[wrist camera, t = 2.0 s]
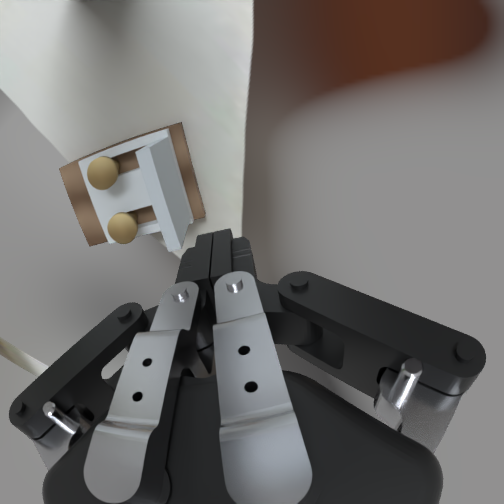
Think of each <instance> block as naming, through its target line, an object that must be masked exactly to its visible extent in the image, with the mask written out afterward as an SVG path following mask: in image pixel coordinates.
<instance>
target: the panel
mask: <svg viewBox="0 0 504 504" xmlns="http://www.w3.org/2000/svg"><path fill="white" fill-rule="evenodd" d="M146 145H147V146H146ZM143 146H145V147H143ZM140 147H143V148H141V149H140V150H138V151H136V152H135V153H136V156H137V160H138V163H139V166H140V167H139V168H136V169H133V170H130V171H127V172H124V173H121V174H118V178H117V181H116V182H115V183H114V184H113V185H112V186H111V187H110V188H108V189H106V190H98V189H96V188H94V187H93V186H92V185H91V184H90V183H89V181H88V178H87V169H88V166H89V164H90V163H91V162H92V161H93V160H94V159H96V158H98V157H101V156H107V157H110V158H112V157H114V156H117V155H120V154H122V153H125V152H128V151H131V150H134V149H137V148H140ZM78 163H79V166H80V169H81V172H82V175H83V178H84V181H85V184H86V187H87V190H88V193H89V195H90V198H91V201H92V203H93V206H94V209H95V211H96V214H97V216H98V219H99V221H100V224H101V226H102V228H103V231H104V233H105V236H106V238H107V240H108V242H109V244H112V243H116V241H114V240H113V239H112V238H111V237H110V235H109V233H108V229H107V226H108V222H109V220H110V219H111V218H112V217H113V216H114V215H115V214H116V213H119V212H125V213H126V212H129V211H133V210H136V209H140V208H143V207H147V206H150V205H152V207H153V210H154V213H155V216H156V218H157V220H153V221H150V222H146V223H142V224H138V232H137V235H136V236H135V237H139V236H143V235H147V234H151V233H155V232H159V231H161V232H162V235H163V238H164V241H165V243H166V246H167V249H168V251H169V252H170V251H175V250H179V249H182V245H183V242H184V238H185V235H186V231H187V228H188V224H192V223H193V220H194V218H193V214H192V211H191V208H190V204H189V201H188V197H187V194H186V191H185V187H184V184H183V180H182V176H181V173H180V169H179V166H178V162H177V158H176V155H175V151H174V147H173V143H172V139H171V136H170V132H169V128H167V129H164V130H161V131H158V132H154V133H151V134H148V135H145V136H142V137H139V138H136V139H133V140H131V141H128V142H125V143H122V144H120V145H117V146H114V147H112V148H109V149H107V150H104V151H102V152H99V153H97V154H94V155H92V156H90V157H87V158H85V159H83V160H81V161H79V162H78Z"/></svg>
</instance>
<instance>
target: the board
mask: <svg viewBox="0 0 504 504" xmlns="http://www.w3.org/2000/svg"><path fill="white" fill-rule="evenodd" d="M167 128H169V132H170V136H171V139H172V143H173V147H174V151H175V155H176V158H177V162H178V166H179V169H180V173H181V176H182V180H183V184H184V187H185V191H186V194H187V197H188V201H189V204H190V208H191V211H192V214H193V218H194V220H195V219H199V218H204V217H205V210H204V206H203V203H202V199H201V195H200V192H199V188H198V184H197V181H196V177H195V173H194V169H193V165H192V162H191V158H190V154H189V150H188V146H187V142H186V138H185V134H184V130H183V126H182V122H181V123H177V124H174V125H170V126H167V127H164V128H160V129H157V130H154V131H151V132H148V133H145V134H142V135H139V136H136V137H133V138H130V139H128V140H125V141H122V142H119V143H117V144H114V145H112V146H109V147H106V148H104V149H101V150H99V151H97V152H94V153H92V154H89V155H87V156H85V157H83V158H80V159H78V160H76V161H74V162H72V163H69V164H67V165H65V166H63V167H61V168H60V169H59V170H60V173H61V176H62V179H63V182H64V185H65V188H66V190H67V193H68V196H69V198H70V201H71V204H72V206H73V209H74V211H75V214H76V216H77V219H78V221H79V224H80V226H81V228H82V231H83V233H84V235H85V237H86V240H87V242H88V244H89V246H93V245H97V244H101V243H104V242H108V240H107V238H106V236H105V233H104V231H103V228H102V226H101V224H100V221H99V219H98V216H97V214H96V211H95V209H94V206H93V203H92V201H91V198H90V195H89V193H88V190H87V187H86V184H85V181H84V178H83V175H82V172H81V169H80V166H79V163H78V162H79V161H81V160H83V159H85V158H87V157H90V156H92V155H94V154H97V153H99V152H102V151H104V150H107V149H109V148H112V147H114V146H117V145H120V144H122V143H125V142H128V141H131V140H133V139H136V138H139V137H142V136H145V135H148V134H151V133H154V132H158V131H161V130H164V129H167ZM146 146H147V145H146ZM143 147H145V146H143ZM143 147H140V148H137V149H134V150H131V151H128V152H125V153H122V154H120V155H117V156H114V157H112V158H110V157H107V156H101V157H98V158H96V159H94V160H93V161H92V162H91V163H90V164H89V166H88V169H87V178H88V181H89V183H90V184H91V185H92V186H93V187H94V188H96V189H98V190H106V189H108V188H110V187H111V186H112V185H113V184H114V183H115V182H116V181H117V178H118V174H121V173H124V172H127V171H130V170H133V169H136V168H139V167H140V166H139V163H138V160H137V156H136V153H135V152H136V151H138V150H140V149H141V148H143ZM153 220H157V218H156V216H155V213H154V210H153V207H152V205H150V206H147V207H143V208H140V209H136V210H133V211H129V212H126V213H125V212H119V213H116V214H115V215H114V216H113V217H112V218H111V219H110V220H109V222H108V226H107V229H108V233H109V235H110V237H111V238H112V239H113V240H114V241H116V242H118V243H120V244H127V243H129V242H131V241H132V240H133V239H134V238H135V236H136V235H137V232H138V224H142V223H146V222H150V221H153Z"/></svg>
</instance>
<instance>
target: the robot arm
mask: <svg viewBox="0 0 504 504" xmlns="http://www.w3.org/2000/svg"><path fill="white" fill-rule="evenodd" d="M274 344H287V346H288V348H289V349H290V350H291V351H292V352H294V353H295V354H297V355H298V356H300V357H302V358H303V359H305V360H307V361H309V362H310V363H312V364H313V365H315V366H317V367H318V368H320V369H322V370H324V371H325V372H327V373H329V374H331V375H332V376H334V377H336V378H338V379H339V380H341V381H343V382H345V383H346V384H348V385H350V386H352V387H354V388H356V389H357V390H359V391H361V392H363V393H365V394H367V395H369V396H371V397H372V398H374V409H375V412H376V414H377V415H378V416H379V417H380V418H381V419H382V420H384V421H385V422H386V423H387V424H388V425H389V426H387V425H386V424H384V423H382V422H380V421H379V420H377V419H375V418H373V417H372V416H370V415H369V414H367V413H365V412H364V411H362V410H360V409H359V408H357V407H355V406H354V405H352V404H350V403H349V402H347V401H345V400H344V399H343V398H341V397H339V396H338V395H336V394H335V393H333V392H331V391H330V390H328V389H327V388H325V387H324V386H322V385H321V384H319V383H318V382H316V381H315V380H313V379H311V378H308V377H307V376H304V375H301V374H298V373H294V372H290V371H283V370H281V366H280V363H279V360H278V356H277V353H276V349H275V346H274ZM124 348H125V349H126V350H127V351H128V356H127V359H126V361H125V364H124V365H123V366H122V367H121V368H120V369H119V370H118V371H117V372H116V373H115V374H114V375H113V376H112V377H111V378H109V379H102V376H101V371H102V369H103V367H104V366H105V365H106V364H108V363H109V362H110V361H111V360H112V359H113V358H114V357H115V356H116V355H117V354H118V353H120V352H121V351H122V350H123V349H124ZM485 362H486V354H485V350H484V348H483V346H482V345H481V343H480V342H479V341H478V340H476V339H475V338H473V337H471V336H469V335H467V334H464V333H462V332H459V331H457V330H454V329H451V328H449V327H447V326H444V325H441V324H439V323H437V322H434V321H431V320H429V319H427V318H424V317H422V316H419V315H417V314H414V313H412V312H409V311H407V310H404V309H402V308H399V307H396V306H394V305H392V304H389V303H386V302H384V301H382V300H379V299H376V298H374V297H371V296H369V295H366V294H364V293H361V292H359V291H356V290H354V289H351V288H349V287H346V286H344V285H341V284H339V283H336V282H334V281H331V280H329V279H326V278H324V277H321V276H318V275H316V274H313V273H311V272H305V271H301V272H300V271H299V272H293V273H290V274H288V275H286V276H284V277H283V278H282V279H281V280H280V281H279V283H278V285H274V284H266V283H263V282H260V281H259V280H258V279H257V275H256V269H255V264H254V260H253V255H252V251H251V246H250V242H249V240H247V239H246V238H245V237H239V238H235V239H233V235H232V232H231V229H225V230H220V231H216V232H211V233H207V234H202V235H198V236H197V239H196V244H195V247H193V248H188V249H187V250H186V252H185V253H184V254H183V255H182V258H181V263H180V266H179V270H178V274H177V278H176V282H175V284H174V285H173V286H171V287H169V288H168V289H167V290H166V291H165V292H164V293H163V296H162V298H161V301H160V303H159V305H158V306H155V307H153V308H150V309H148V310H146V311H143V309H142V307H141V305H140V304H138V303H127V304H124V305H122V306H120V307H118V308H117V309H116V310H114V311H113V312H112V313H111V314H110V315H108V316H107V317H106V318H105V319H104V320H103V321H101V322H100V323H99V324H98V325H97V326H95V327H94V328H93V329H92V330H91V331H90V332H88V333H87V334H86V335H85V336H84V337H83V338H81V339H80V340H79V341H78V342H77V343H76V344H75V345H73V346H72V347H71V348H70V349H69V350H68V351H67V352H66V353H64V354H63V355H62V356H61V357H60V358H59V359H58V360H57V361H55V362H54V363H53V364H52V365H51V366H50V367H49V368H48V369H47V370H46V371H44V372H43V373H42V374H41V375H40V376H39V377H38V378H37V379H36V380H35V381H34V382H33V383H32V384H31V385H30V386H28V387H27V388H26V389H25V390H24V391H23V392H22V393H21V394H20V395H19V396H18V397H17V398H16V399H15V400H14V401H13V403H12V405H11V407H10V410H9V418H10V422H11V423H12V424H13V425H14V426H15V427H16V428H18V429H19V430H20V431H22V432H23V433H24V434H26V435H27V436H28V437H29V438H30V439H31V440H32V441H33V442H34V444H35V446H36V448H37V450H38V452H39V454H40V456H41V458H42V460H43V462H44V463H45V465H46V467H47V469H48V473H47V474H46V477H45V479H44V482H43V492H42V493H43V500H44V504H439V500H440V497H441V492H442V488H443V474H442V470H441V466H440V464H439V462H438V460H437V458H436V457H435V455H434V452H435V450H436V448H437V446H438V445H439V443H440V441H441V439H442V437H443V435H444V433H445V431H446V429H447V427H448V425H449V423H450V421H451V419H452V417H453V415H454V413H455V410H456V408H457V406H458V403H459V401H460V400H461V398H462V397H463V396H464V394H465V393H466V392H467V390H468V389H469V388H470V386H471V385H472V384H473V382H474V381H475V379H476V378H477V377H478V375H479V374H480V372H481V371H482V369H483V368H484V365H485Z"/></svg>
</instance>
